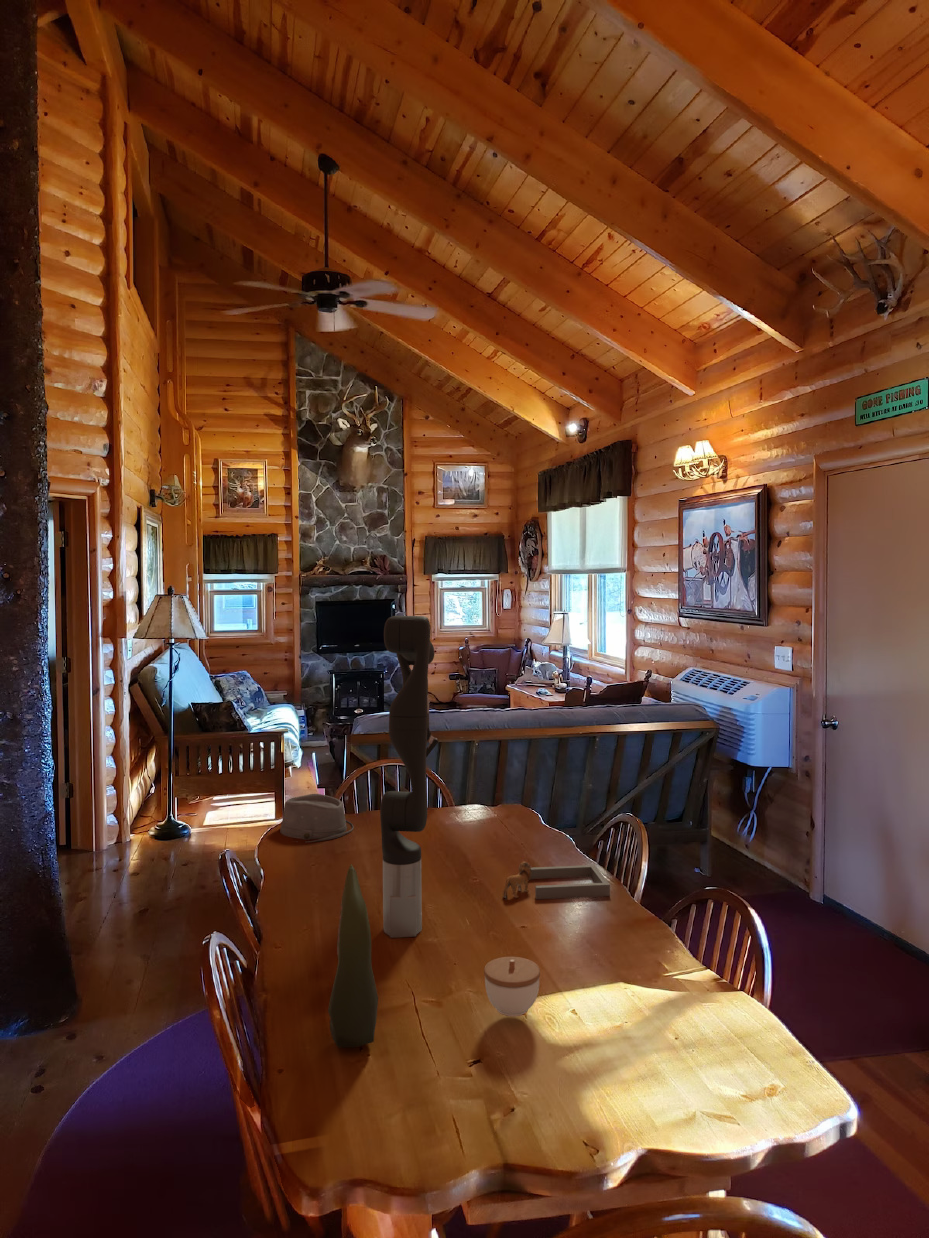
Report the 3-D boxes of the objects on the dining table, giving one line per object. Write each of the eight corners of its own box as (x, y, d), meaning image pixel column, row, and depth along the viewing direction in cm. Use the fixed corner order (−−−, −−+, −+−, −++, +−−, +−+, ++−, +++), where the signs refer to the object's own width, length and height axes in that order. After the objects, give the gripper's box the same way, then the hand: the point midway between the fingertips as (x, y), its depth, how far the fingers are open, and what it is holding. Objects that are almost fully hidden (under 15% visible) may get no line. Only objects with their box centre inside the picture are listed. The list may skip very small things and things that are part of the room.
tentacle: (374, 1017, 152) (372, 860, 151) (383, 1053, 140) (381, 883, 139) (325, 1023, 150) (323, 865, 149) (330, 1061, 138) (328, 889, 137)
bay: (609, 895, 211) (609, 884, 211) (536, 899, 209) (536, 887, 209) (594, 875, 226) (594, 864, 226) (526, 878, 224) (526, 867, 224)
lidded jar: (474, 1014, 153) (474, 966, 153) (498, 989, 162) (498, 943, 162) (526, 1028, 148) (526, 978, 148) (548, 1001, 158) (548, 954, 157)
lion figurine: (520, 885, 219) (520, 858, 219) (534, 888, 217) (534, 861, 216) (499, 899, 209) (499, 871, 209) (513, 903, 207) (513, 875, 206)
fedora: (292, 821, 280) (291, 786, 280) (365, 827, 272) (364, 791, 272) (255, 842, 257) (254, 804, 257) (333, 850, 249) (333, 810, 249)
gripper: (392, 713, 222) (392, 775, 223) (440, 712, 223) (440, 774, 224) (391, 709, 229) (392, 769, 230) (438, 708, 231) (438, 768, 231)
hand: (416, 771), depth 227 cm, fingers closed
